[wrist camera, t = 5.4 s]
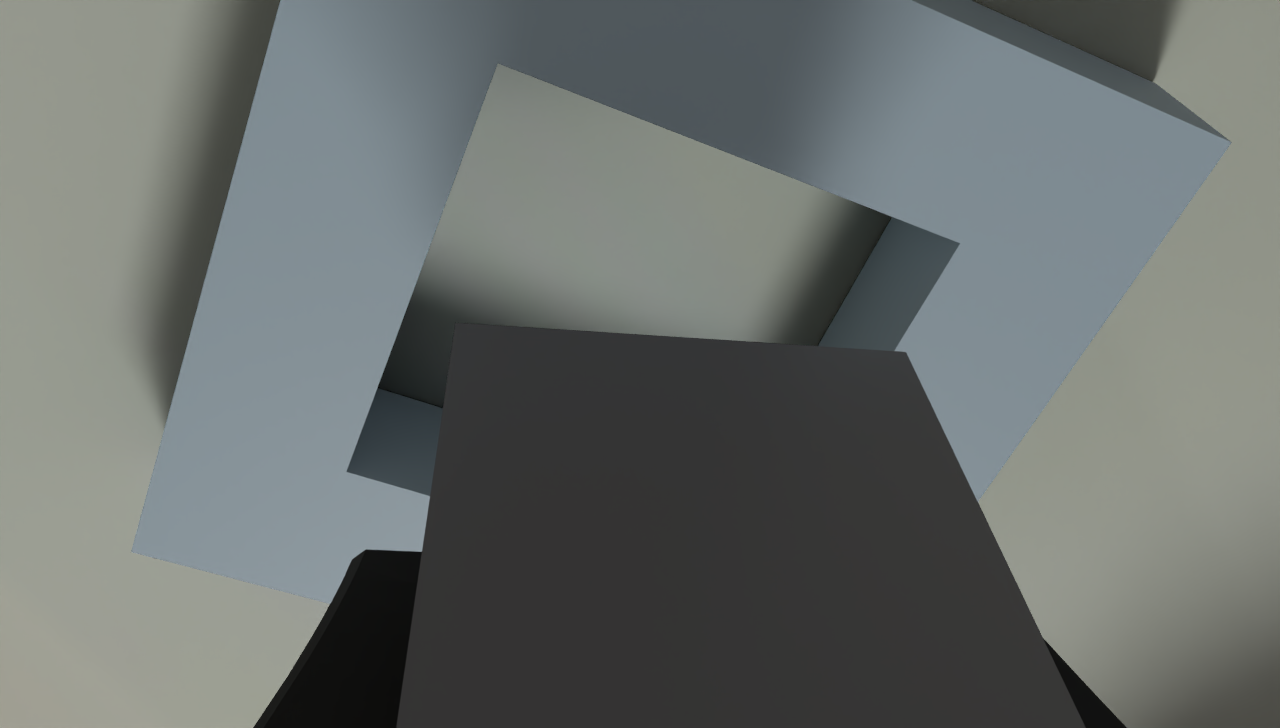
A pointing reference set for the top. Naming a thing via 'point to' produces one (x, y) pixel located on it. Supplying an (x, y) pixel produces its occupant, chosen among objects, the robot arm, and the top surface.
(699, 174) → the top surface
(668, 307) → the top surface
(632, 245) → the top surface
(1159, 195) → the socket plate
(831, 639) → the plug
